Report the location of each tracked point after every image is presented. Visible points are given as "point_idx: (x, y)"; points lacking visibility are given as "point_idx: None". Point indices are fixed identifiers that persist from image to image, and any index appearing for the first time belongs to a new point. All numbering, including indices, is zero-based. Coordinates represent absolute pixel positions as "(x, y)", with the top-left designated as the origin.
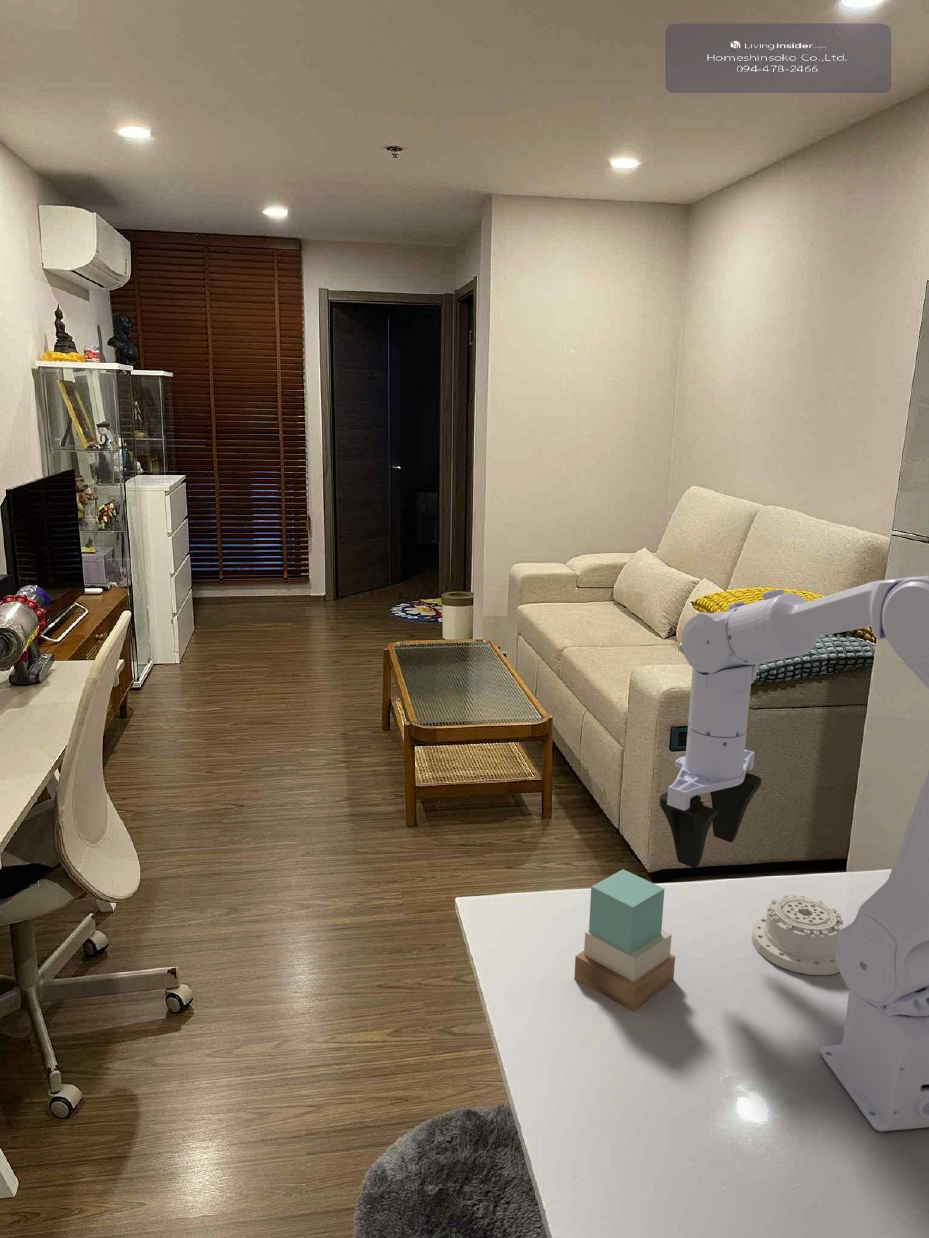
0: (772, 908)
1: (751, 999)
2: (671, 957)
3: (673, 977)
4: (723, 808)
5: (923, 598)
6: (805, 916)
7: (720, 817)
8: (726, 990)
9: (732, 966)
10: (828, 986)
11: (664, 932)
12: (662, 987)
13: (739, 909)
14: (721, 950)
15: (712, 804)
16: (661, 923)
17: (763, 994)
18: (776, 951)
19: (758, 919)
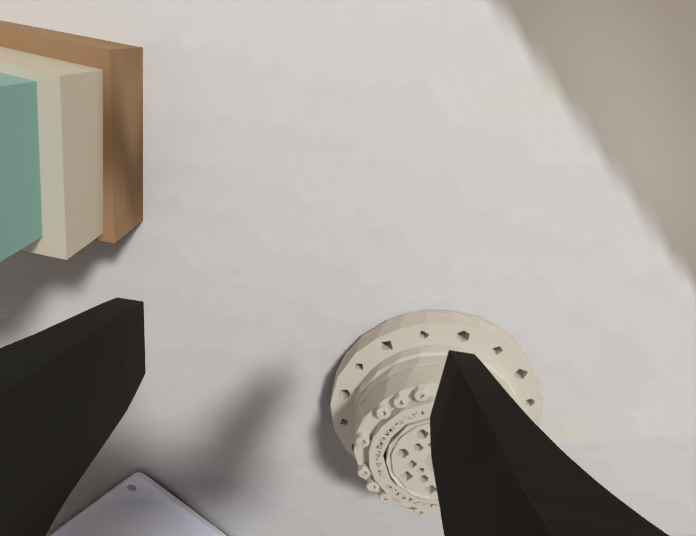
0: (422, 399)
1: (195, 362)
2: (104, 237)
3: (140, 222)
4: (475, 497)
5: None
6: (421, 464)
7: (467, 440)
8: (188, 319)
9: (275, 307)
10: (327, 453)
11: (59, 240)
12: None
13: (528, 254)
14: (319, 271)
15: (494, 444)
16: (17, 249)
17: (225, 375)
18: (348, 384)
19: (461, 325)
